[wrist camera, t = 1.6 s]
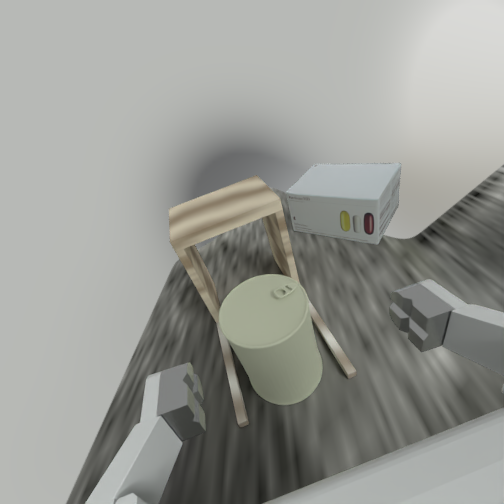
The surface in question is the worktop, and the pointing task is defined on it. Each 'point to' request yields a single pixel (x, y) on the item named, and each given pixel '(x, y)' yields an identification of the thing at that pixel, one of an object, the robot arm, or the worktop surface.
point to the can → (273, 337)
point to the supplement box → (346, 200)
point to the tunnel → (225, 219)
